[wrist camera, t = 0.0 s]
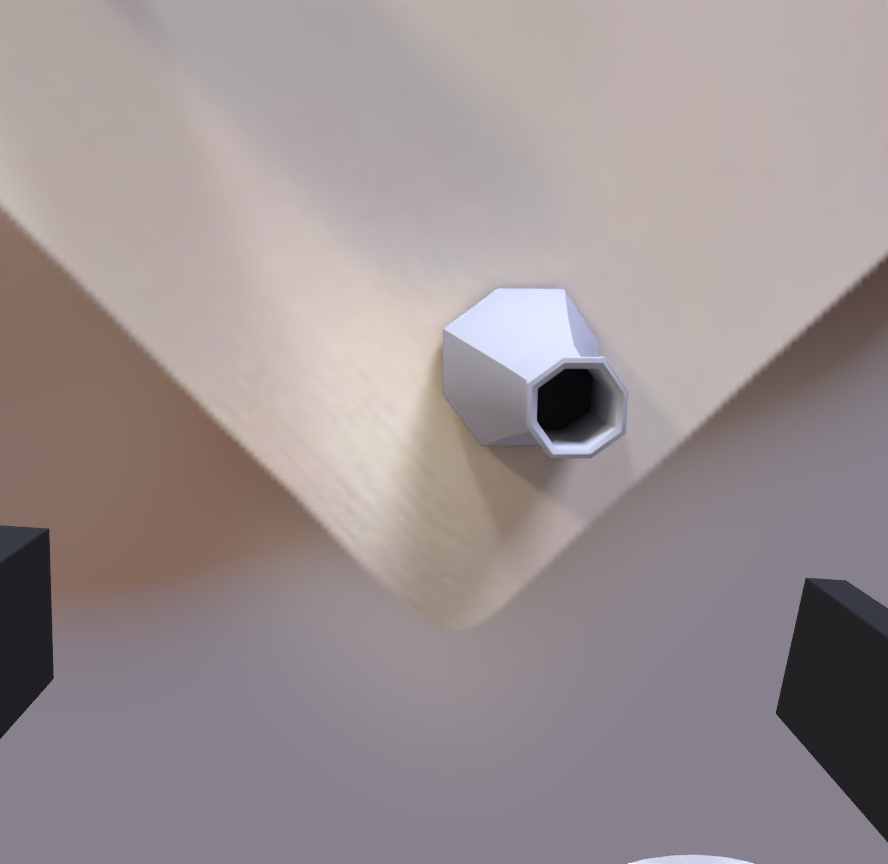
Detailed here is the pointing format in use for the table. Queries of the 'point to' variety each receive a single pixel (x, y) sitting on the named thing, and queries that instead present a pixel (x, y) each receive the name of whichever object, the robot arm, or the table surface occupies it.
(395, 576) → the table surface
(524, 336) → the flask
